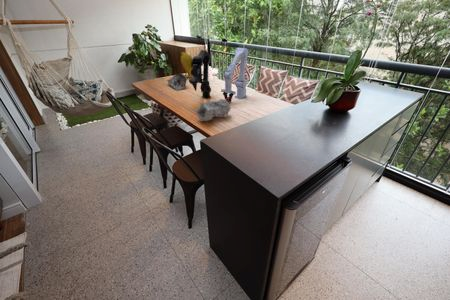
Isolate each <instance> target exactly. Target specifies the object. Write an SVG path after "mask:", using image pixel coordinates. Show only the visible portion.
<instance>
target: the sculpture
mask: <svg viewBox="0 0 450 300" xmlns="http://www.w3.org/2000/svg"><path fill="white" fill-rule="evenodd" d="M180 54H181V56H180V62H181V65H182V67H183V70H184V71H185V73H184V76H185V77H186V79H188V78H193V77H194V76H192V74H191V70H192V69H193V67H192V59H193V57H192V56H191V55H190V54H188V53H186V52H185V51H182V52H181V53H180Z"/></svg>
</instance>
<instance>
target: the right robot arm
mask: <svg viewBox="0 0 450 300" xmlns="http://www.w3.org/2000/svg"><path fill="white" fill-rule="evenodd" d="M248 57H249V50H248V48H246V47H236V49H235V51H234V56H233V60H232V62H231V63H230V64H229V65H228V68H227V70H225V72H224V73H223V78H224V79H223V80H224V88H222V89H220V92H221V93H222V96H223V97H224V99H225V98H226V97H229V101H231V102H232V100H233V96H234V95H235V96H234V97H235V98H237V99H244V98H246V97H247V85H248V83H247V78H245V76H246V75H245V74H246V68H247V59H248ZM239 61H240V64H239V72H238V77H237V78H236V80H235V83H234V86H235V87H236V91H234V90H232V84H233V83H232V82H233V81H232V80H233V78H234V72H235V71H236V69H237V64H238V62H239Z"/></svg>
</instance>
